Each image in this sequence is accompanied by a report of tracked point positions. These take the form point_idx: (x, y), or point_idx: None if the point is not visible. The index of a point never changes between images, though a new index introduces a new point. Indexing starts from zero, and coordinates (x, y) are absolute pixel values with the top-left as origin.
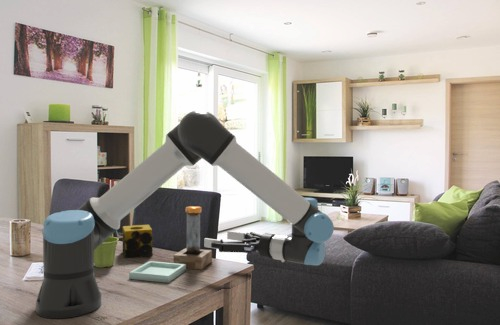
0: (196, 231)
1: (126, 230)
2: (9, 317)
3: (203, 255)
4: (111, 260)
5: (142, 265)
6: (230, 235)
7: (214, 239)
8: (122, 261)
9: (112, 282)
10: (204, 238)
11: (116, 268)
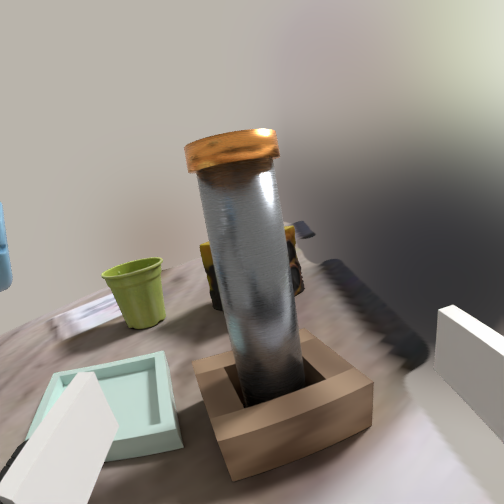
0: (236, 281)
1: (206, 242)
2: None
3: (257, 425)
4: (137, 317)
5: (115, 362)
6: (452, 355)
7: (51, 429)
8: (187, 319)
9: (36, 380)
10: (78, 372)
11: (132, 340)
